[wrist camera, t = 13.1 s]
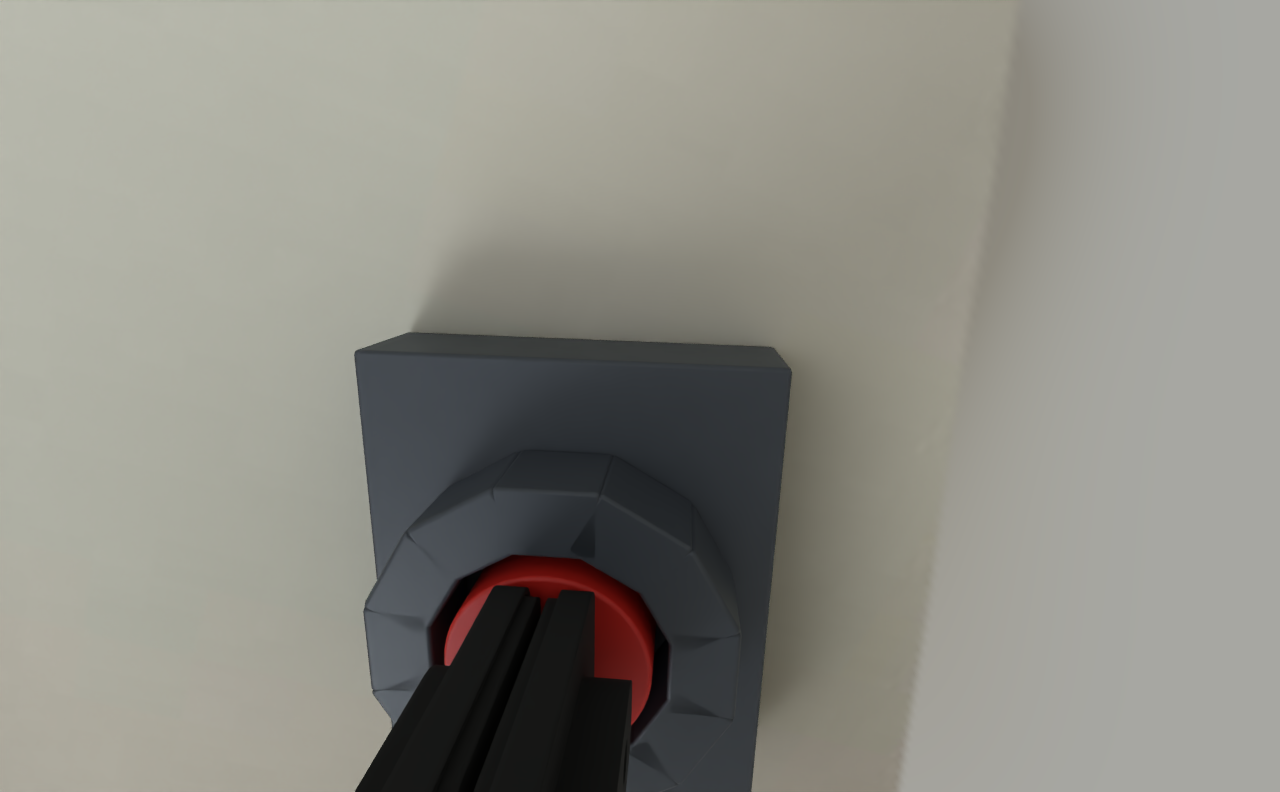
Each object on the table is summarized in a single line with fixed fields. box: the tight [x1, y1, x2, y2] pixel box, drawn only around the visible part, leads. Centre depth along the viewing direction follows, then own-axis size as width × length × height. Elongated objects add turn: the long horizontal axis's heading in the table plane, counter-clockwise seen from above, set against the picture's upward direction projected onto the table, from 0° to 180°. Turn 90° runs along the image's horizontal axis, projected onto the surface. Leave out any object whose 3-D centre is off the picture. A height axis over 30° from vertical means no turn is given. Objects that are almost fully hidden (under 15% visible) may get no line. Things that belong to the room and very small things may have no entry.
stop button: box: [444, 555, 656, 725], centre depth 11 cm, size 4×4×2 cm
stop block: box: [354, 333, 792, 792], centre depth 12 cm, size 10×8×4 cm
